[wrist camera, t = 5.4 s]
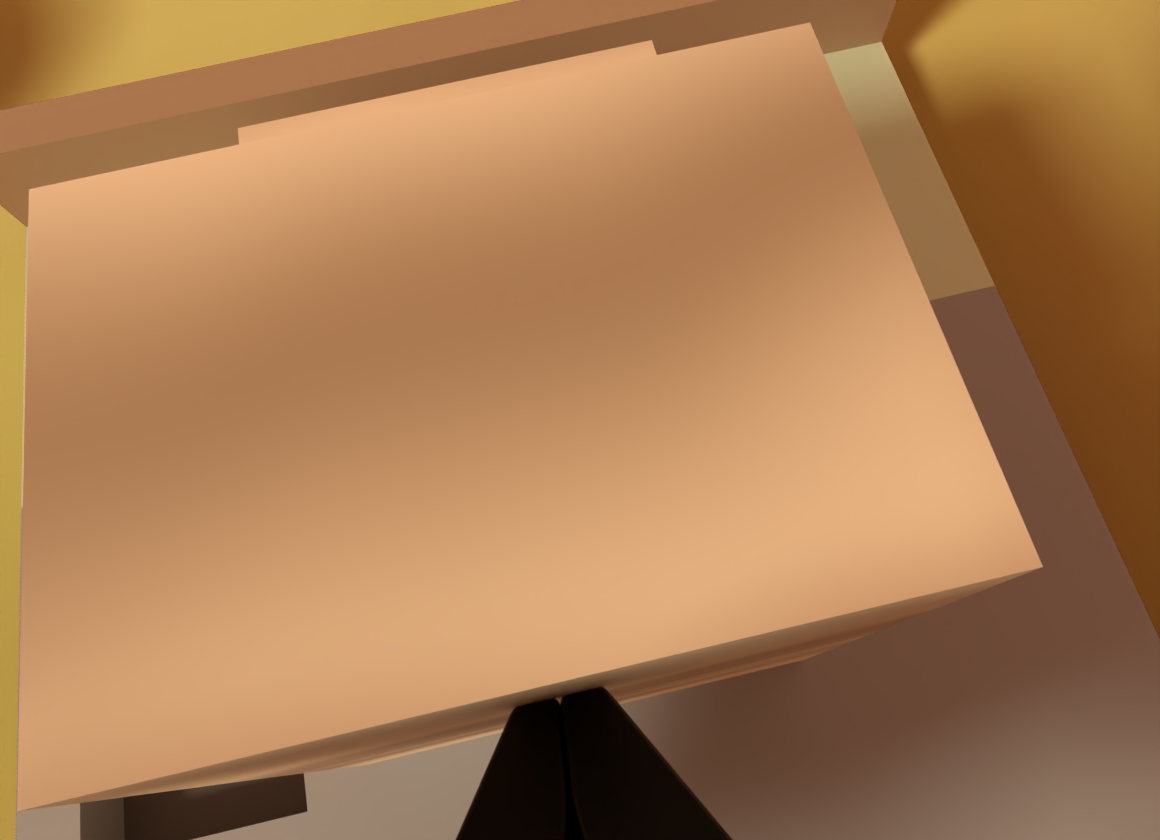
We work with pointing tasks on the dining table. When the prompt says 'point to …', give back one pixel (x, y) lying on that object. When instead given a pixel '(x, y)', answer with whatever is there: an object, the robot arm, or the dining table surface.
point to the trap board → (833, 699)
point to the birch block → (477, 419)
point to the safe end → (482, 47)
